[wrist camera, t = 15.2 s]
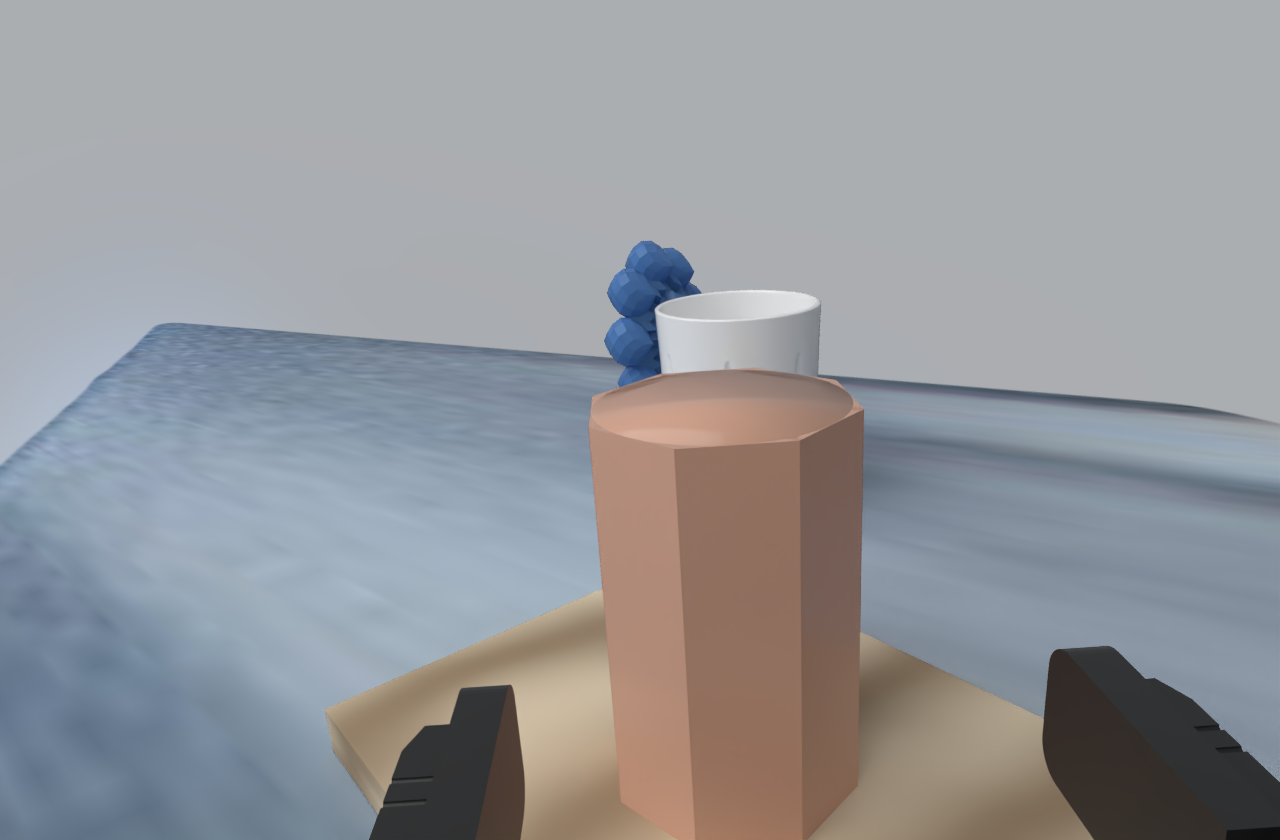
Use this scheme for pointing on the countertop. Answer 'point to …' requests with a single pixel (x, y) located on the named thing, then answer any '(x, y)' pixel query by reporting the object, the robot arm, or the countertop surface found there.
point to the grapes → (644, 306)
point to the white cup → (740, 332)
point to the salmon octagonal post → (732, 597)
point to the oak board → (587, 758)
